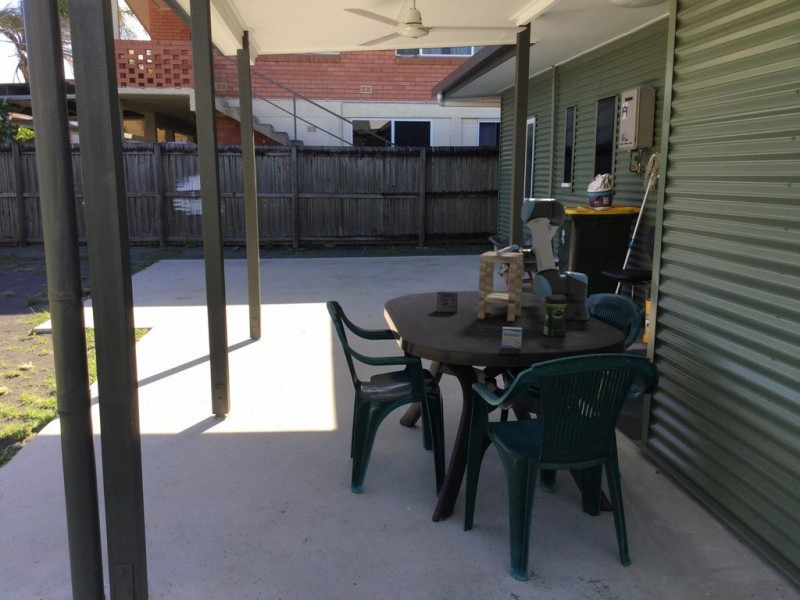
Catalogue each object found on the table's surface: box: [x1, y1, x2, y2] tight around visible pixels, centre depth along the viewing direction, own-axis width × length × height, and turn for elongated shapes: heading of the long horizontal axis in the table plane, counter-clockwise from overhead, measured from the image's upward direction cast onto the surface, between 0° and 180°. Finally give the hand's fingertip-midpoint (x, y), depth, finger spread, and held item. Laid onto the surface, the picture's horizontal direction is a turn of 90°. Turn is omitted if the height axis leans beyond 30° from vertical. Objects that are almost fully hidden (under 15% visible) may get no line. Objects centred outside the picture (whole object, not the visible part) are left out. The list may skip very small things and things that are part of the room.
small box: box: [436, 291, 458, 314], centre depth 348 cm, size 11×6×10 cm, turn 84°
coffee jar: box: [542, 295, 567, 338], centre depth 298 cm, size 10×8×19 cm
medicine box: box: [501, 326, 523, 350], centre depth 276 cm, size 8×4×9 cm, turn 81°
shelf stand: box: [477, 251, 524, 323], centre depth 335 cm, size 18×18×32 cm
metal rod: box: [496, 246, 512, 256], centre depth 336 cm, size 26×2×2 cm, turn 159°
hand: (507, 248), depth 345 cm, fingers open, 13 cm apart
